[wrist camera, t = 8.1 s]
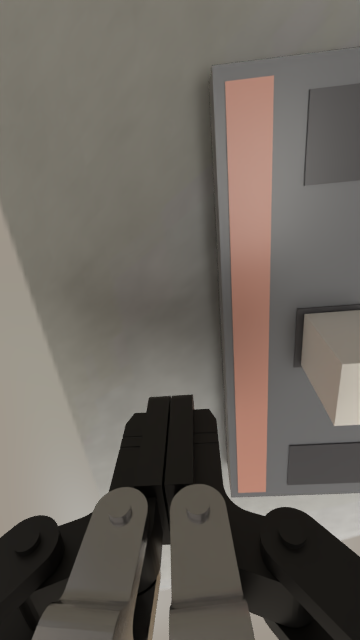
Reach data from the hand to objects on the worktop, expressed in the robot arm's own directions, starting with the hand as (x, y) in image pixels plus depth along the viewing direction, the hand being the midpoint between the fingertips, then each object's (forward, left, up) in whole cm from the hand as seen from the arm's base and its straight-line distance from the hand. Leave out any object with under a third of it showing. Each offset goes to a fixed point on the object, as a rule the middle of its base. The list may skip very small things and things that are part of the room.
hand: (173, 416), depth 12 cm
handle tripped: (0, +7, -4) cm, 8 cm away
